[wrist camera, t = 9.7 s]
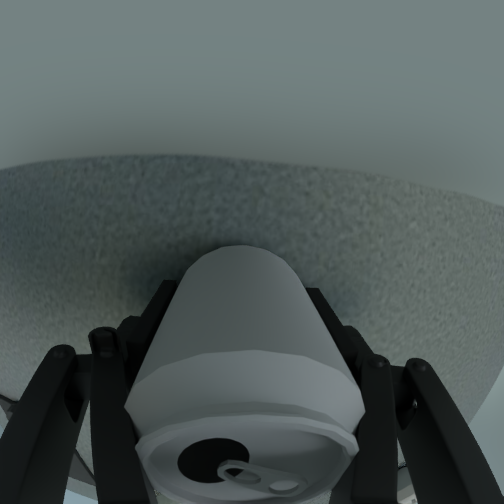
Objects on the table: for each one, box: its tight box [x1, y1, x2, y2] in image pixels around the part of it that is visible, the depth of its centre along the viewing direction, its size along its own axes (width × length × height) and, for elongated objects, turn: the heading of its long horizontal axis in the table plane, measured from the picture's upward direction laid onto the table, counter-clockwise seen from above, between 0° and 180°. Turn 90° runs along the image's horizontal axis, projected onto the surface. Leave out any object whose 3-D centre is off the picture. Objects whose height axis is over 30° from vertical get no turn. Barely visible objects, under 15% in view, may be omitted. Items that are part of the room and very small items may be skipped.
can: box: [124, 245, 365, 504], centre depth 11 cm, size 8×8×12 cm
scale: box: [0, 395, 96, 486], centre depth 21 cm, size 17×11×2 cm, turn 176°
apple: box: [397, 467, 417, 504], centre depth 23 cm, size 8×8×7 cm
